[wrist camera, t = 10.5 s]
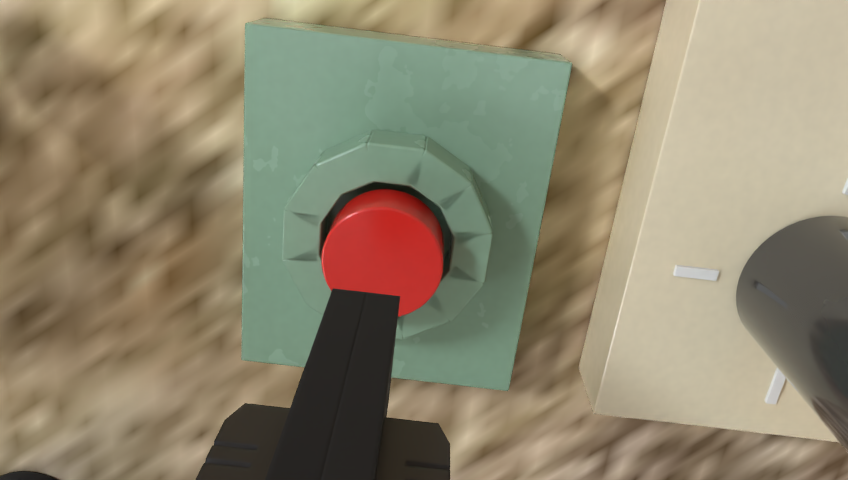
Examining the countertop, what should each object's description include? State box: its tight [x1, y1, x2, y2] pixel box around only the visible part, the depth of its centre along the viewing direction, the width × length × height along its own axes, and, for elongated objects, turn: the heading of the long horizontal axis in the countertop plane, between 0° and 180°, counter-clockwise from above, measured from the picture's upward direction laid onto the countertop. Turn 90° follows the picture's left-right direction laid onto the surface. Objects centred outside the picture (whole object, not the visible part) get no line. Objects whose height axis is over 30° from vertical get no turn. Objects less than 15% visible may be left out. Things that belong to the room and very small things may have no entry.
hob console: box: [579, 0, 848, 442], centre depth 22 cm, size 16×12×3 cm
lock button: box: [321, 189, 444, 317], centre depth 20 cm, size 4×4×2 cm
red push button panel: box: [241, 18, 572, 391], centre depth 23 cm, size 12×10×4 cm
